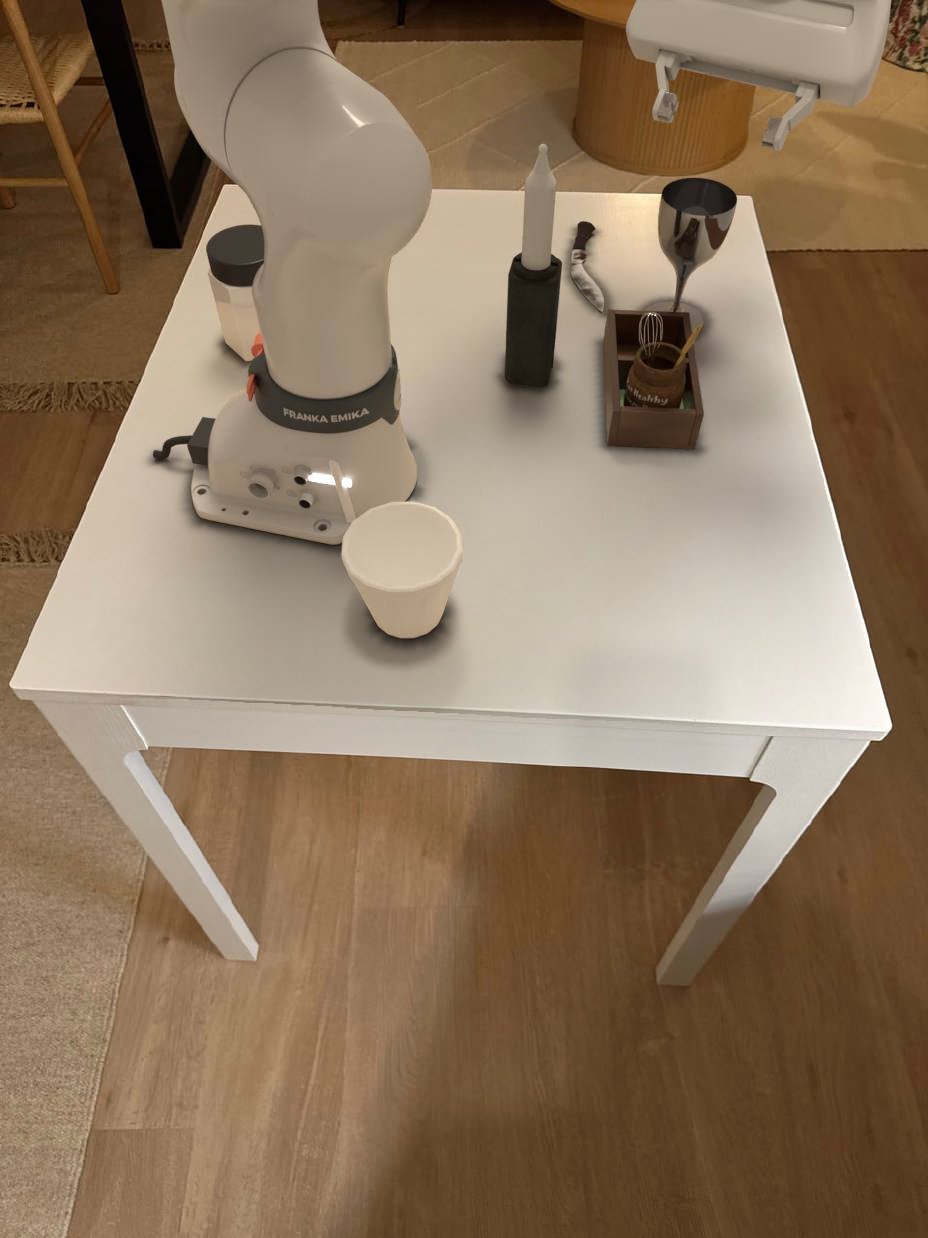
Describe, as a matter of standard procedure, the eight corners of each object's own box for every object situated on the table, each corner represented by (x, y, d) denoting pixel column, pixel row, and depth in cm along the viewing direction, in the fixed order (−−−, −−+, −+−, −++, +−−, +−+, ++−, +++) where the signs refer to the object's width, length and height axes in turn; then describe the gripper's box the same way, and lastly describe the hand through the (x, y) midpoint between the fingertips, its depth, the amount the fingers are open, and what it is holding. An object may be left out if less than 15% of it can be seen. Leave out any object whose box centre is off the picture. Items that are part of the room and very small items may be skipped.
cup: (367, 564, 84) (357, 493, 76) (472, 577, 83) (472, 507, 75) (340, 650, 78) (326, 582, 70) (453, 666, 77) (451, 598, 69)
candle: (547, 388, 99) (567, 160, 79) (502, 383, 100) (510, 154, 80) (554, 360, 102) (574, 133, 82) (510, 355, 103) (520, 128, 83)
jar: (315, 344, 104) (299, 247, 95) (254, 372, 101) (232, 275, 92) (274, 309, 108) (255, 213, 99) (214, 335, 105) (189, 239, 96)
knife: (624, 304, 107) (583, 309, 107) (624, 313, 108) (583, 319, 108) (594, 218, 118) (556, 223, 118) (593, 228, 119) (556, 233, 119)
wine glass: (711, 339, 104) (743, 216, 92) (643, 339, 105) (666, 215, 93) (702, 300, 109) (731, 177, 97) (636, 299, 109) (657, 176, 97)
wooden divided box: (607, 445, 94) (612, 410, 90) (602, 343, 104) (607, 308, 100) (695, 449, 93) (704, 414, 90) (681, 346, 104) (689, 311, 100)
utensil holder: (641, 386, 98) (659, 287, 89) (691, 410, 96) (715, 311, 86) (610, 413, 95) (626, 315, 86) (661, 439, 93) (683, 340, 83)
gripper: (657, -96, 71) (590, 85, 73) (922, -52, 64) (837, 144, 67) (669, -46, 76) (606, 120, 79) (913, -1, 70) (835, 178, 73)
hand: (714, 132), depth 73 cm, fingers open, 8 cm apart
